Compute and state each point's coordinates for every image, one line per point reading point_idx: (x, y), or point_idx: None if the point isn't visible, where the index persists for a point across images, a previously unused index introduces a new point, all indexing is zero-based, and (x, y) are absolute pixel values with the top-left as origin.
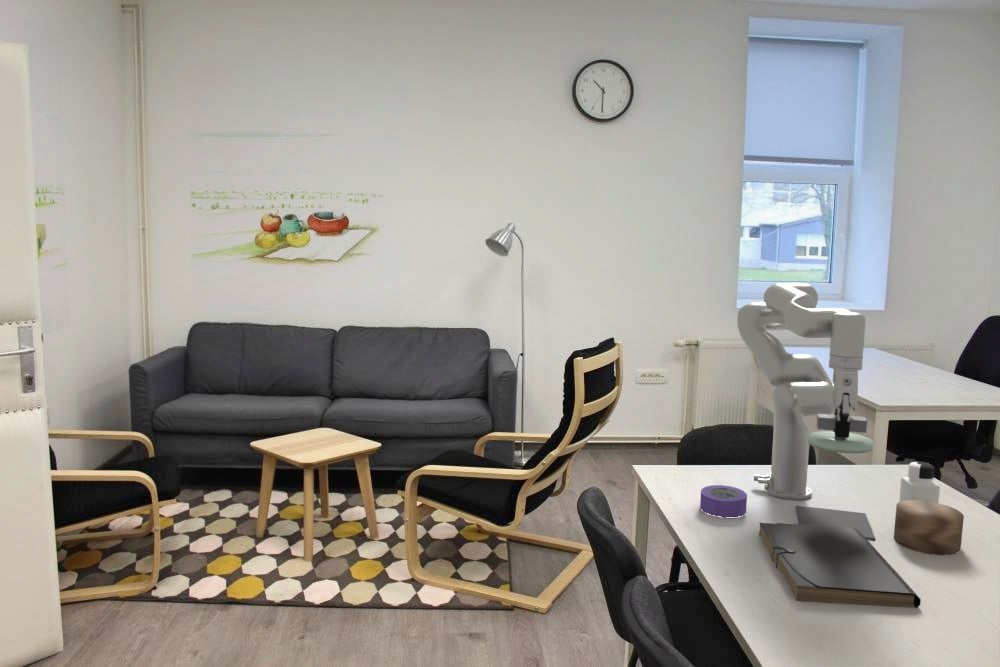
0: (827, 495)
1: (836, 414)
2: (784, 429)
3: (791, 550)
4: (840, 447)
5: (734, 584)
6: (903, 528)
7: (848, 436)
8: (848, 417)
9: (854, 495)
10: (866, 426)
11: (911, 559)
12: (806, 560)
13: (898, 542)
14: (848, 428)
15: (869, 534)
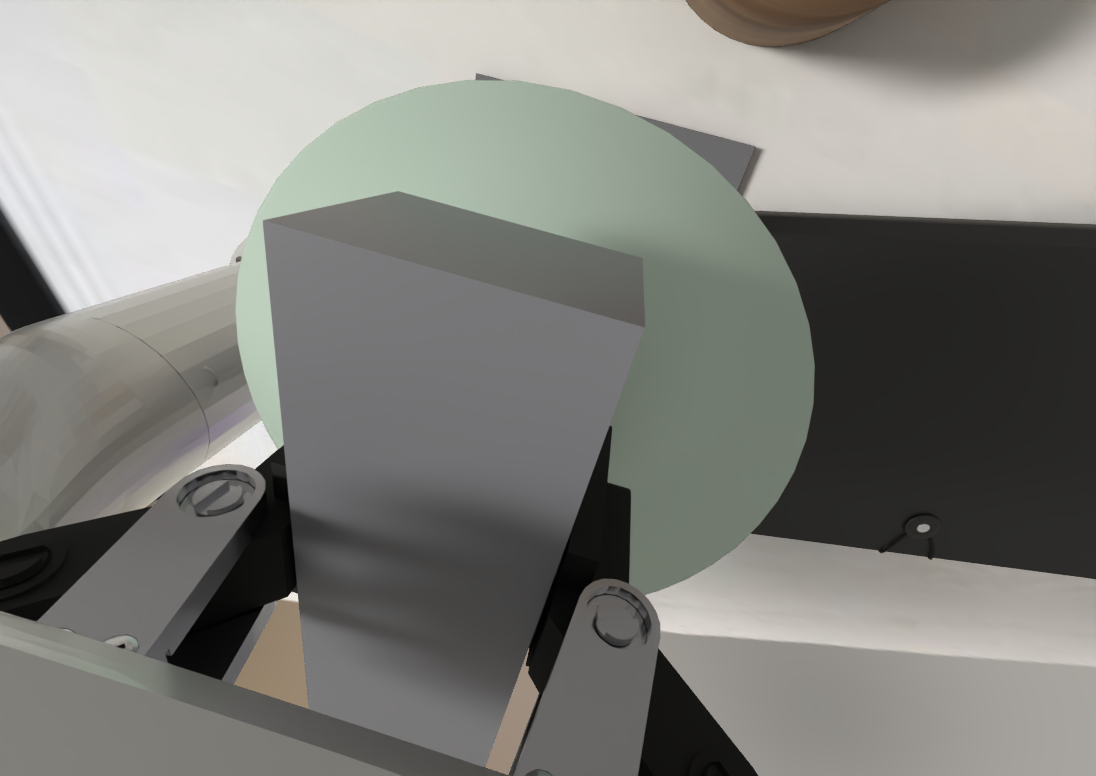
0: (289, 163)
1: (271, 597)
2: (144, 503)
3: (927, 526)
4: (760, 512)
5: (968, 626)
6: (857, 16)
7: (611, 434)
8: (643, 689)
9: (244, 28)
10: (639, 290)
11: (975, 57)
12: (1003, 509)
13: (798, 43)
14: (602, 499)
15: (712, 155)
